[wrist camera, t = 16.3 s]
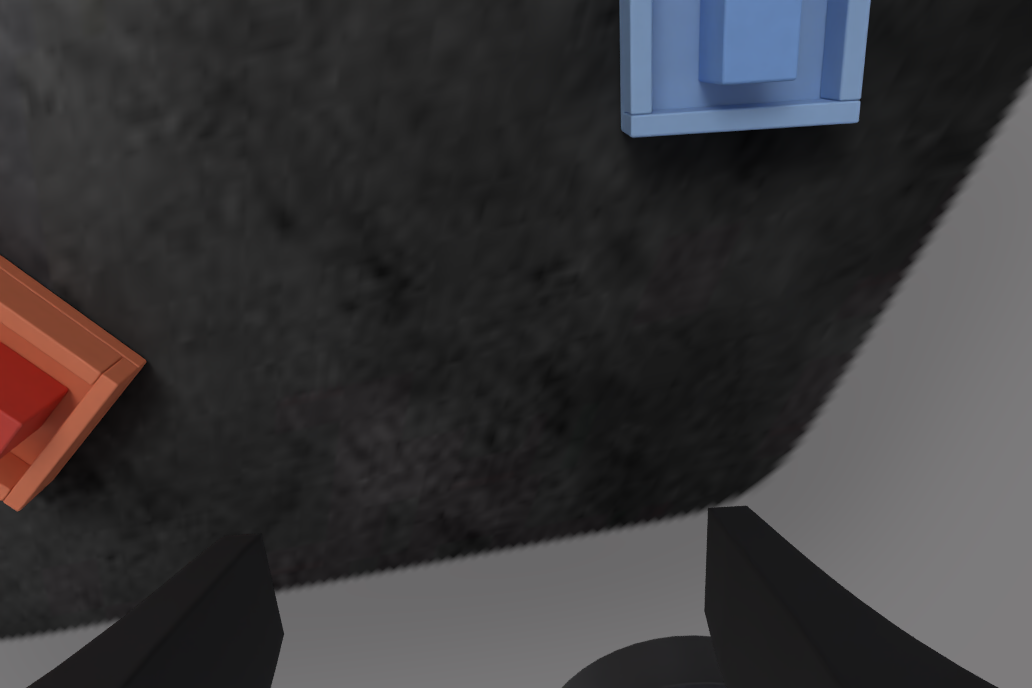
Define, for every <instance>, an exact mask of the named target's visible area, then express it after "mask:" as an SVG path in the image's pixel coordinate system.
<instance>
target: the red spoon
mask: <svg viewBox="0 0 1032 688" xmlns="http://www.w3.org/2000/svg"><path fill="white" fill-rule="evenodd" d="M67 392H68V388H67V387H66V386H64V385H63V384H61V383H60V382H58V381H57V380H56V379H54V378H53V377H51V376H50V375H48V374H47V373H45V372H44V371H42V370H41V369H40V368H38V367H37V366H35V365H34V364H32V363H31V362H29V361H28V360H27V359H25V358H24V357H22V356H21V355H19V354H18V353H16V352H15V351H13V350H12V349H11V348H9V347H8V346H6V345H5V344H3V343H2V342H0V459H1V458H2V457H3V456H5V455H6V454H7V453H8V452H10V451H11V450H12V449H13V448H15V447H16V446H17V445H19V444H20V443H21V442H22V441H24V440H25V439H26V438H27V437H29V436H30V435H31V434H32V433H34V432H35V431H36V430H38V429H39V428H40V427H41V426H42V425H43V424H44V422H45V421H46V420H47V418H48V417H49V416H50V415H51V413H52V412H53V411H54V409H55V408H56V407H57V405H58V404H59V403H60V401H61V400H62V399H63V398H64V396H65V395H66V394H67Z"/></svg>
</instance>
